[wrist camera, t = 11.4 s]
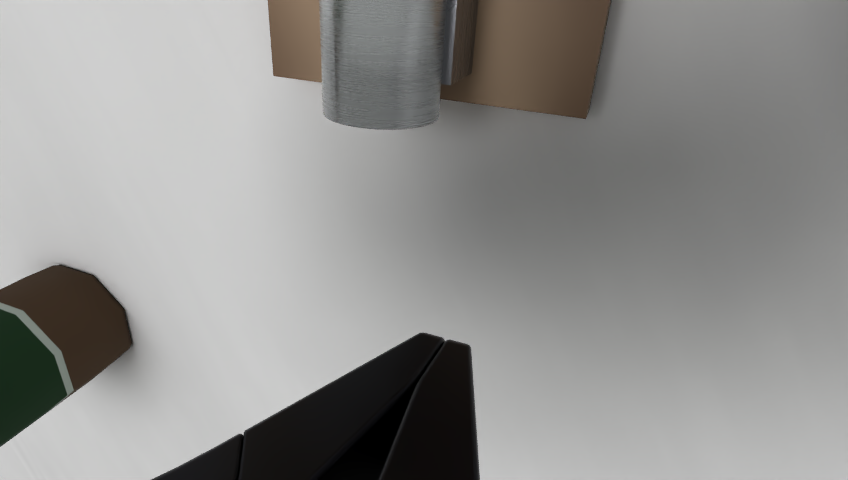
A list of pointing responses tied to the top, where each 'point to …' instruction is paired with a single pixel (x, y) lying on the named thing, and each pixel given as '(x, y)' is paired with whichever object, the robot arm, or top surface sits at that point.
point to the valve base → (507, 52)
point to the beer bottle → (53, 342)
